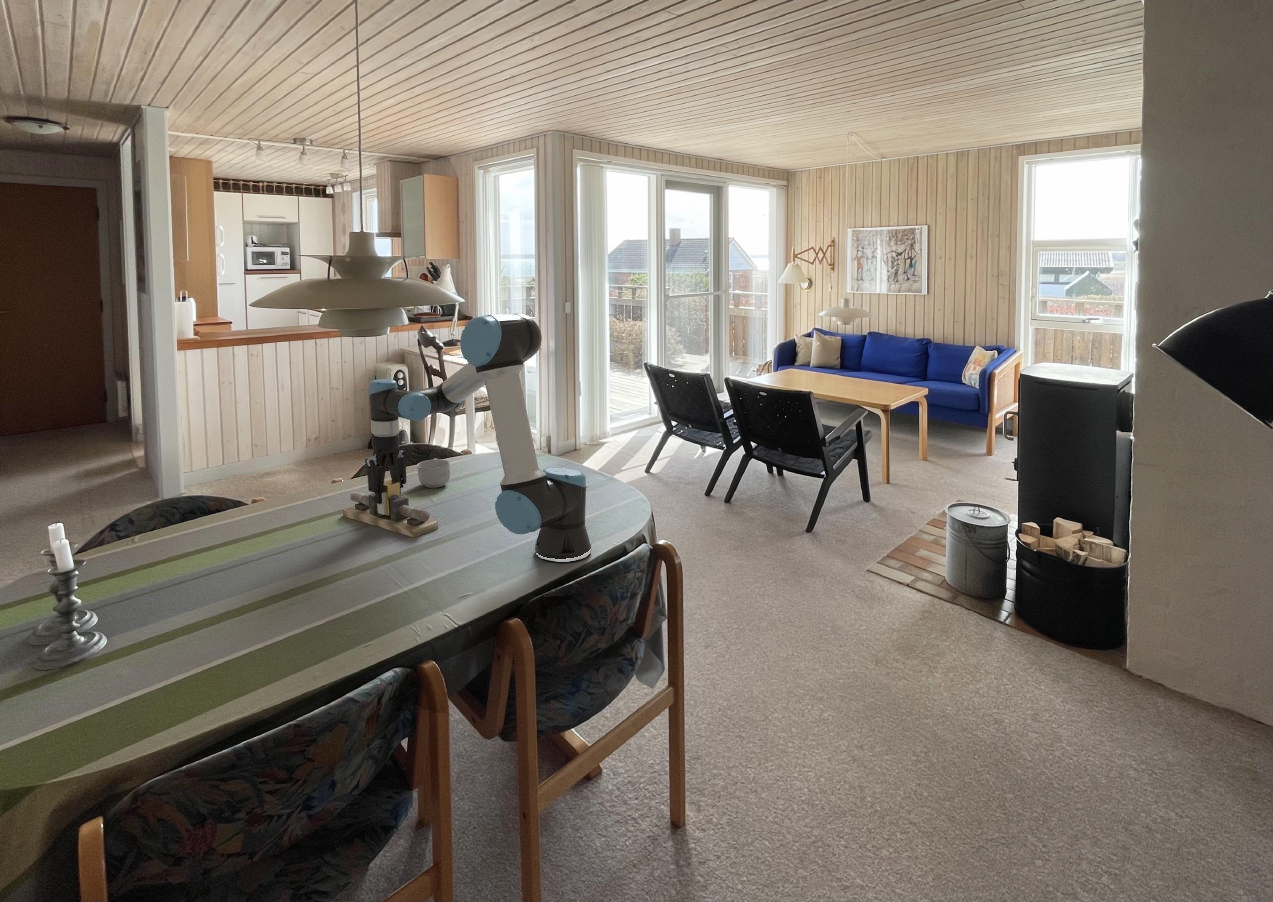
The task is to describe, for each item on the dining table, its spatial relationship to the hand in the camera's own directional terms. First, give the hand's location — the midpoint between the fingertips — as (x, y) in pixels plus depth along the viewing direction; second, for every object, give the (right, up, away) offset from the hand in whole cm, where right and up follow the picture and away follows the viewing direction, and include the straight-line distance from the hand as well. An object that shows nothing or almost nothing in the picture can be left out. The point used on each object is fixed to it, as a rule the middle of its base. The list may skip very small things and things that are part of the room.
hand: (389, 510), depth 221 cm
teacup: (+3, +6, +38) cm, 39 cm away
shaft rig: (0, -3, +1) cm, 3 cm away
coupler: (0, 0, 0) cm, 0 cm away
